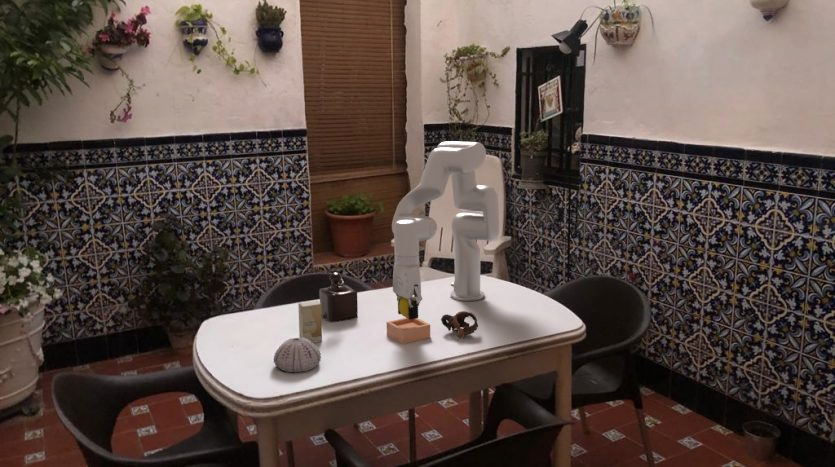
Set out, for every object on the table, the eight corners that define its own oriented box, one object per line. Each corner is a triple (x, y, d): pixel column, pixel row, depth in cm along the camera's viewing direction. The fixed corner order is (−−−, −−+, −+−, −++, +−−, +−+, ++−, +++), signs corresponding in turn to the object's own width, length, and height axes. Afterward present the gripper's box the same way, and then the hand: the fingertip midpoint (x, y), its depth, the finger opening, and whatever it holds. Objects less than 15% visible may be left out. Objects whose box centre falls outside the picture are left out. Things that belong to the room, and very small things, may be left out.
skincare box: (303, 344, 209) (301, 306, 206) (299, 340, 213) (297, 302, 210) (323, 340, 212) (321, 303, 209) (318, 336, 216) (316, 299, 213)
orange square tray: (386, 334, 216) (386, 322, 215) (413, 328, 221) (413, 316, 221) (403, 344, 208) (402, 330, 207) (430, 337, 213) (430, 324, 212)
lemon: (417, 316, 216) (417, 291, 214) (415, 321, 211) (415, 297, 209) (400, 315, 217) (399, 291, 215) (398, 321, 211) (397, 296, 209)
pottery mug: (477, 329, 221) (482, 312, 216) (471, 351, 214) (476, 334, 208) (441, 319, 222) (445, 302, 217) (434, 340, 215) (439, 323, 210)
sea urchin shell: (322, 355, 201) (320, 329, 199) (321, 373, 188) (320, 346, 186) (276, 358, 199) (274, 332, 197) (272, 377, 186) (270, 349, 184)
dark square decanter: (317, 314, 237) (315, 264, 233) (347, 309, 242) (345, 260, 238) (333, 327, 224) (331, 274, 220) (364, 322, 228) (362, 270, 225)
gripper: (382, 256, 215) (384, 311, 219) (411, 267, 201) (412, 326, 204) (402, 253, 219) (404, 306, 222) (432, 263, 204) (433, 321, 208)
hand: (408, 315), depth 213 cm, fingers closed on lemon, 5 cm apart
